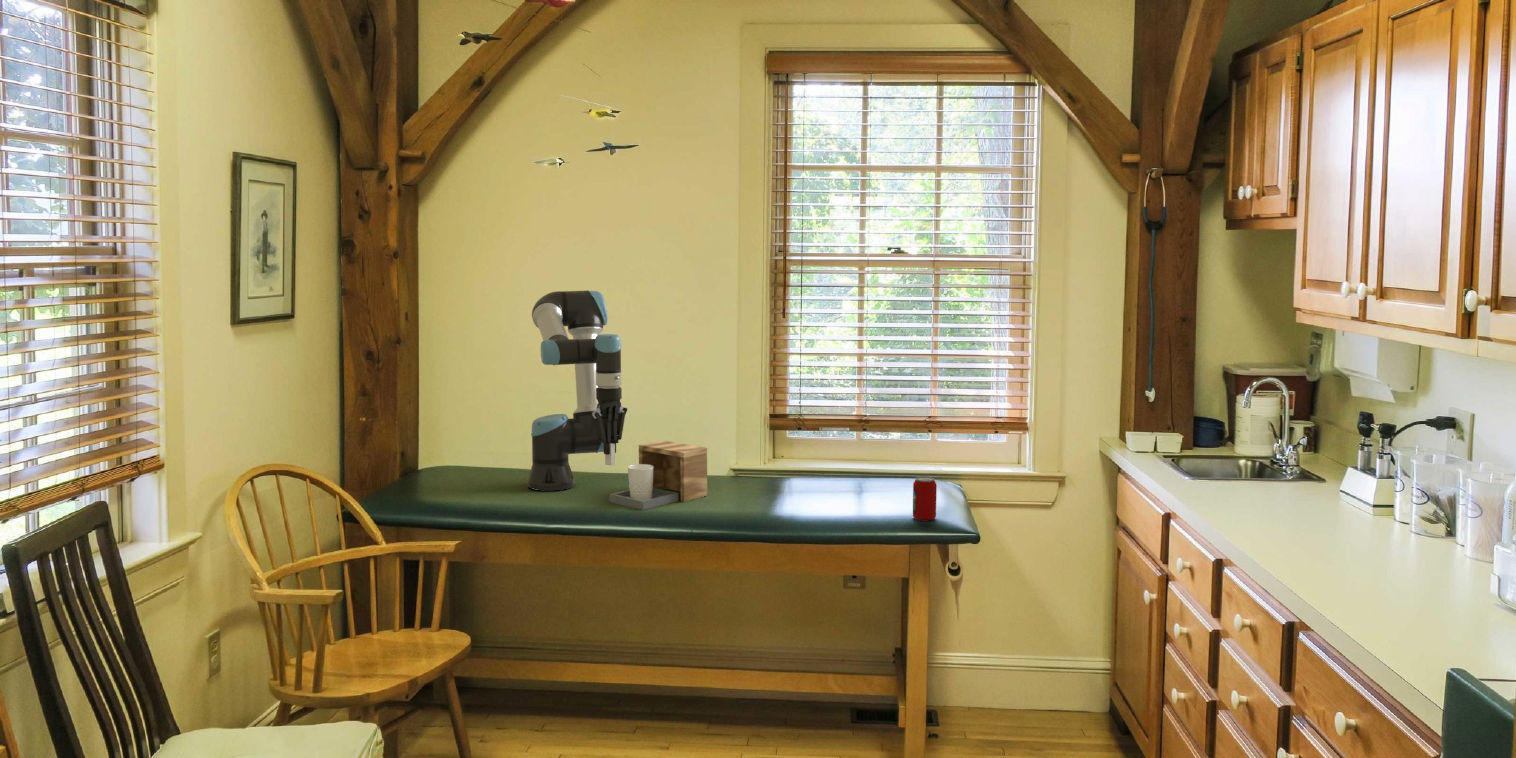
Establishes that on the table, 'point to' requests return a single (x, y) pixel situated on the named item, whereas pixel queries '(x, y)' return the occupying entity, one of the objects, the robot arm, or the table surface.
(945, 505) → the table surface
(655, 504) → the tray
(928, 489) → the beverage can
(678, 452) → the wooden crate
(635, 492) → the white cup
